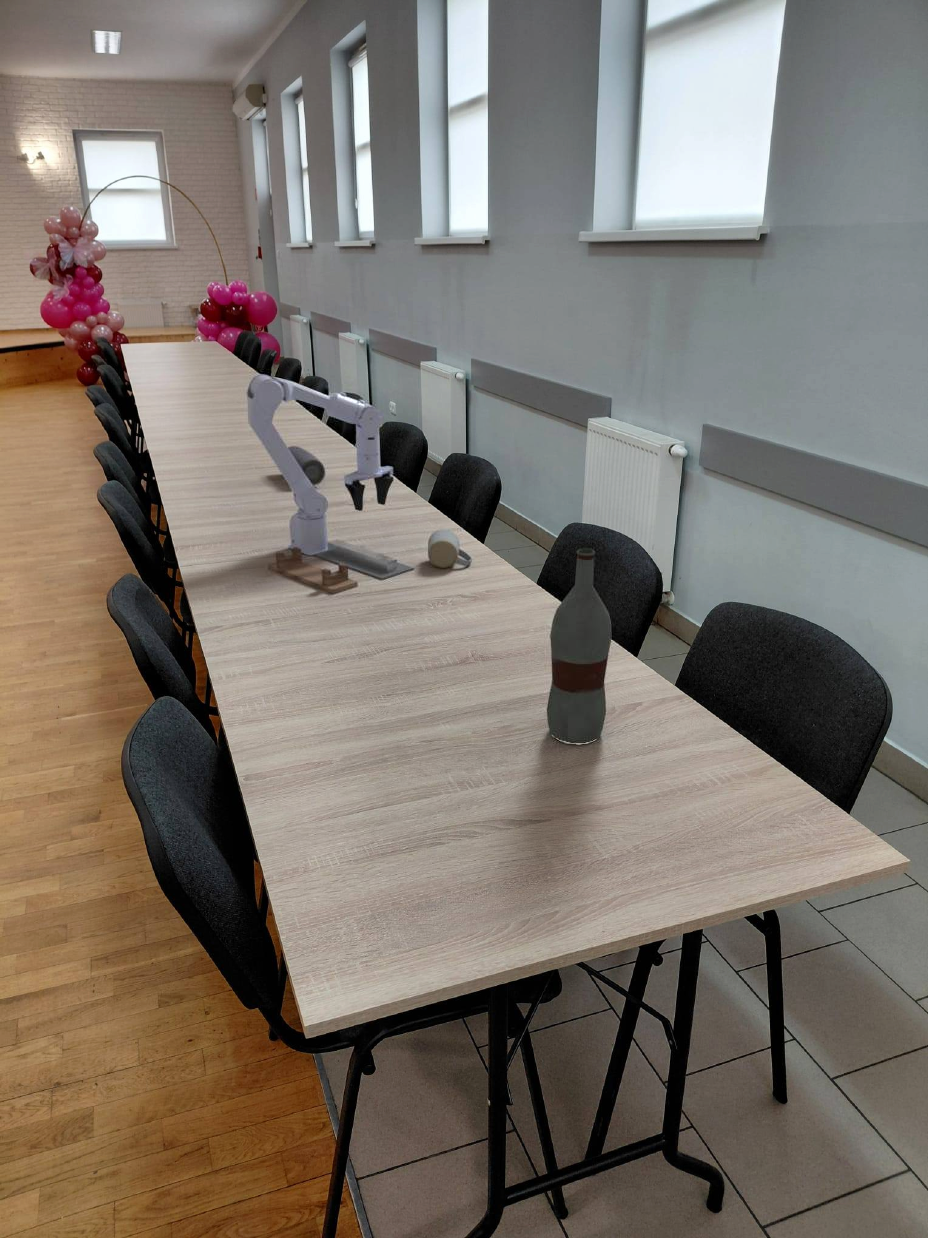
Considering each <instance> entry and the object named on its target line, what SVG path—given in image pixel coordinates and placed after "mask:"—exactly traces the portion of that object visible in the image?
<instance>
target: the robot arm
mask: <svg viewBox="0 0 928 1238" xmlns="http://www.w3.org/2000/svg"><path fill="white" fill-rule="evenodd" d="M246 390H247V391H246V393H245V394H246V398H247V422H248V424H249V427H250V428H251V429H252V431H253V432H254V434H255V436H256V437H257V438H258V440H259V441H260V442H261V445H262V446H263V447H264V449H265V450H266V452H267V454H268V455H269V457H270V458H271V460H272V461H273V463H274V464H275V466H276V467H277V469H278V470H279V471H280V473H281V475H282V476H283V478H284V480H285V481H286V483H287V484H288V486H289V489H290V490H291V492H292V493H293V500H294V503H295V505H296V506H297V507H298V509H297V511H296V512H294V514H292V515H291V517H290V520H289V535H290V537H289V538H290V545H288V546H287V547H288V549H291V550H293V549H292V548H294V547H297V548H300V549H301V554H305V555H307V556H309V557H310V556H313V555H314V554H317V553H320V552H324V551H327V550H328V547H327V542H329V537H328V536H329V535H328V522H327V521H328V519H327V511H328V507H329V502H328V499H327V498H326V496H325V495H324V494H323V493H321V492H319V490H317V488H316V487H315V485H312V483H311V482H310V481H309V479H308V478H307V477H306V475H305V474H304V472H303V471H302V469H301V467H300V466H299V464H298V463H297V461H296V460H295V458H294V457H293V455H292V453H291V452H290V450H289V449H288V445H287V444H286V443H285V441H284V439H283V438H282V436H281V434H280V433H279V432H278V430H277V429H276V427H275V425H274V424H273V419H274V415H275V412H276V411H277V409H278V407H279V406H280V405H281V404H282V402H285V403H288V402H291V401H293V400H298V401H301V402H305V403H307V404H311V405H313V406H317V407H320V408H322V409H324V411H325V412H326V414H327V415H328V417H330V418H334V419H338V420H340V421H343V422H345V423H348V424H351V425H353V424H354V425H355V432H356V433H355V441H356V443H355V445H356V465H357V466H356V467H357V470H355V471H353V472H351V473H348V474H345V475H343V478H344V479H343V481H344V486H345V488H346V490H347V491H348V493H349V495H350V496H351V497H350V498H351V500H352V504H353V505H354V510H356V511H360V512H361V511H363V509H364V492H365V488H366V485H365V484H362V482H363V481H367V480H371V479H373V481H374V485H375V489H376V500H377V504H378V505H382V506H384V505H386V501H387V497H388V493H389V490H390V488H391V485H392V484H393V482H394V476H393V475H394V467H393V466H389V465H386V466H381V450H380V449H381V447H380V446H381V445H380V427H381V425H382V423H383V417H382V415H381V411H380V410H379V409H378V408H377V407H375V406H373V405H371V404H369V403H367V402H365V400H363V399H358V400H357V399H355V398H351V397H349V396H347V394H346V393H345V392H342V391H339V393H338V392H333V393H332V394H331V393H330V394H329V395H327V394H324V393H322V392H320V391H317V390H314V389H312V388H309V387H307V386H304V385H303V384H300V383H297V382H295V381H292V380H289V379H284V378H280V377H275V376H273V378H272V377H271V376H269V375H268V374H257V375H255V376H253V378H251V380H250V381H249V385H248V388H247V389H246Z"/></svg>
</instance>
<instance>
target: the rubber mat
mask: <svg viewBox="0 0 928 1238" xmlns="http://www.w3.org/2000/svg"><path fill="white" fill-rule="evenodd" d="M312 556H314V557H316V558H319V559H322V560H325V561H328V562H331V563H334V564H337V565H338V564H341V563H343V564H346V565H348V569H351V570H353V571H356V572H358V573H359V572H360V573H362V574H364V575H368V576H371V577H373V578H376V579H378V580H382V581H383V580H386V579H389V578H392V577H395V576H399V575H402V574H405V573H407V572H411V571H413V570H415V568H414V567H412V566H409V565H406V564H404V563H400V562H398V561H397V570H394V571H391V572H385V571H382V570H379V569H376V568H373V567H370V566H367V565H364V564H362V563H359V562H356V561H353V560H350V559H347V558H344V557H341V556H338V555H335V554H332V553H330V552H328V550H327V551H324V552H320V553H317V554H314V555H312Z"/></svg>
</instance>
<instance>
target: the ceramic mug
mask: <svg viewBox="0 0 928 1238" xmlns="http://www.w3.org/2000/svg"><path fill="white" fill-rule="evenodd" d="M460 546H461V545H460V540H459V537H458V536H457V535H456V533H454V532H453V531H451V530H449V529H445V528H444V529H442V528H441V529H437V530H435V531H434V532H433V533H431V535H430V537H429V538H428V541H427V557H428V559H429V562H431V564H432V565H433V566H435V567H437V568H440V569H447V568H450V567H452V566H454V564H458V565H460V566H463V567H468V566H471V563H472V561H473V557H472V556H471V555H470V554H469V553H468V552H466V551H465V550H463V549H462V548H461V549H460Z"/></svg>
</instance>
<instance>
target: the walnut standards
mask: <svg viewBox="0 0 928 1238" xmlns="http://www.w3.org/2000/svg"><path fill="white" fill-rule="evenodd" d="M291 550H292V554H287V555H285V553H284V552H282V551H276V552H275V559H276V560H275V561H276V562H273V563H271V564H268V570H271V571H273V572H276V573H279V574H281V575H284V576H286V577H289V578H292V579H293V580H296V581H299V582H301V583H303V584H307V585H309V586H312V587H314V588H317V589H319V590H321V591H325V592H327V593H330V594H333V595H335V594H338V593H341V592H343V591H346V590H349V589H352V588H356V587H358V585H359V582H358V581H356V580H354V579H351V578H349V568H348V565H346V564H343V563H341V564H337V565H338V570H336V571H332V570H331V569H329V568H321V567H319V566H315V565H313V564H310V563H309V562H308V563H307V562H304V561H303V559H302V557H303V556H302V552H301V549H300V548H297V547H294V548H292V549H291Z"/></svg>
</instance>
